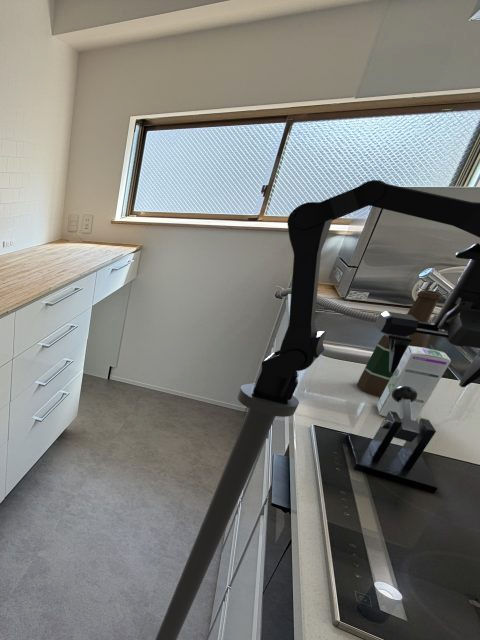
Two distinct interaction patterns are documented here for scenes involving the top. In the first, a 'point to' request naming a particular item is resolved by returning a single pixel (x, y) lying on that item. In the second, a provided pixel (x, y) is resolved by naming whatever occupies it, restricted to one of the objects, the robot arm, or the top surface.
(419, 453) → the black two-post stand
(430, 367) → the syrup box
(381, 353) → the beer bottle
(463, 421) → the top surface
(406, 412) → the lever
